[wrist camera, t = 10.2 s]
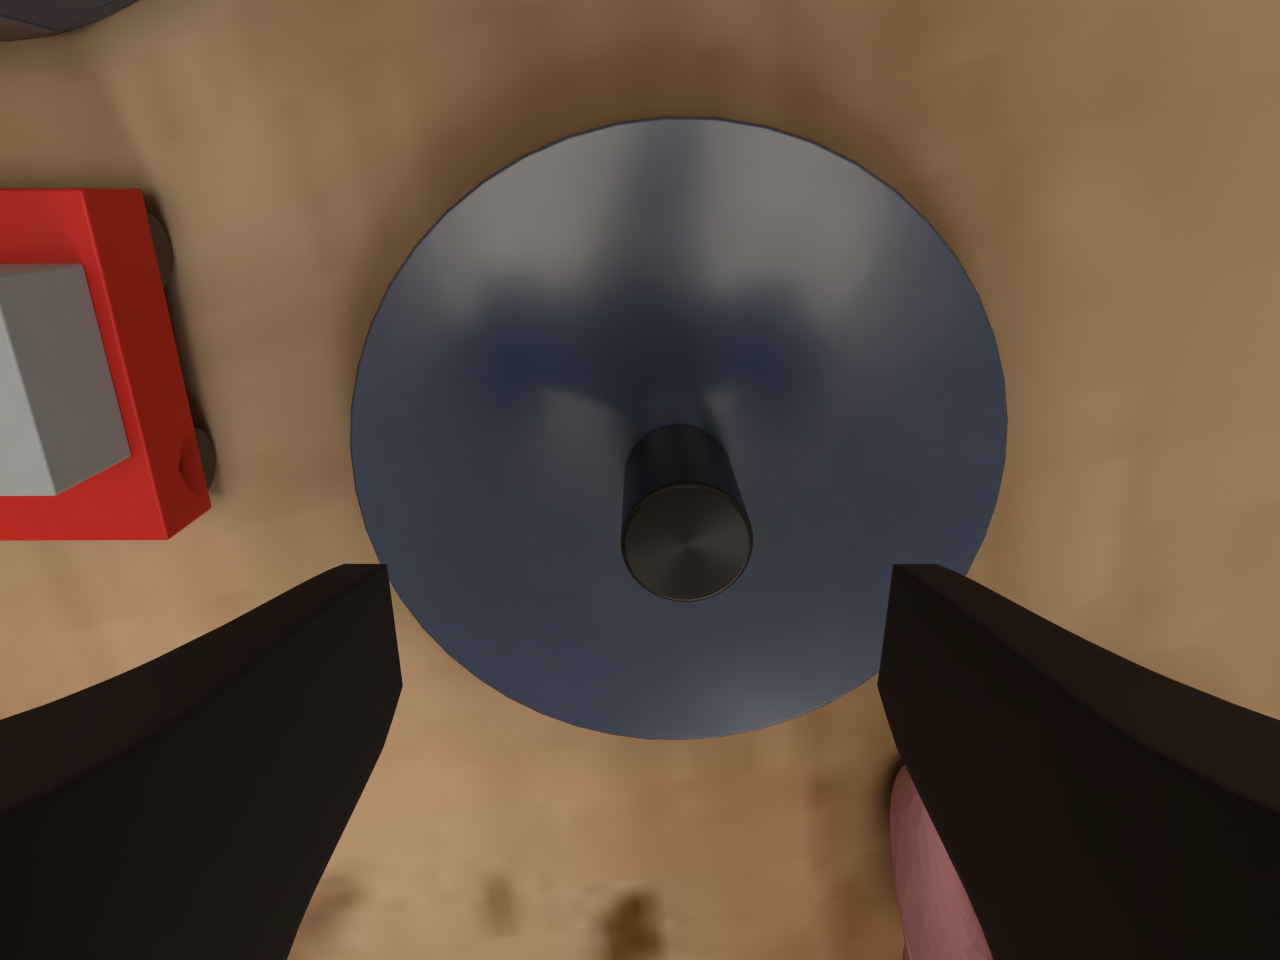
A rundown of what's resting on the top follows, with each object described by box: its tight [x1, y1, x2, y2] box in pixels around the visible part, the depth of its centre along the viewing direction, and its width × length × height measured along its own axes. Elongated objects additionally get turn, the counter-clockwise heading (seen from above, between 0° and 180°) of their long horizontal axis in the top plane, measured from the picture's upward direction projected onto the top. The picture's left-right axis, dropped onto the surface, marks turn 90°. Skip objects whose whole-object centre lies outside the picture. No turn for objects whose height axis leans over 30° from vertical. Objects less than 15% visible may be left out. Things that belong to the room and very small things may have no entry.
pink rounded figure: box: [890, 765, 993, 960], centre depth 20 cm, size 10×5×7 cm, turn 90°
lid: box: [350, 116, 1008, 740], centre depth 16 cm, size 15×15×5 cm
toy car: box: [0, 188, 216, 540], centre depth 15 cm, size 7×4×5 cm, turn 0°
